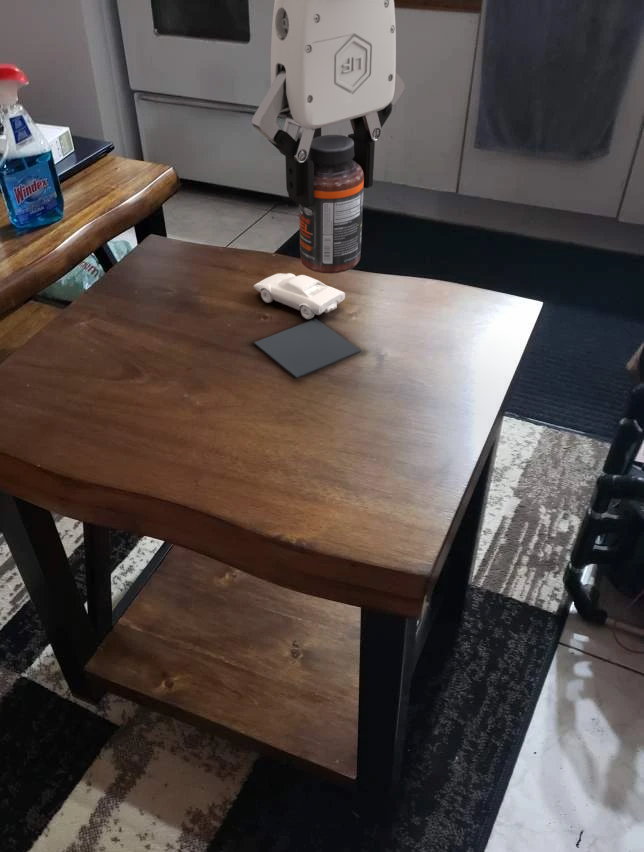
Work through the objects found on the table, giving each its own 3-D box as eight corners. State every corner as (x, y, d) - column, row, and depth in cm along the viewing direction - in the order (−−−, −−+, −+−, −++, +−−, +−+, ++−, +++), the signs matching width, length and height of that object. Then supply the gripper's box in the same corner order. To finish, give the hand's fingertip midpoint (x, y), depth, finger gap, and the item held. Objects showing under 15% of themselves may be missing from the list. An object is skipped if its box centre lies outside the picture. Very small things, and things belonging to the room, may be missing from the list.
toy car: (278, 282, 100) (277, 258, 98) (349, 309, 94) (349, 284, 91) (250, 297, 97) (248, 272, 95) (320, 326, 91) (321, 300, 89)
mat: (315, 320, 93) (315, 318, 92) (360, 351, 87) (360, 350, 87) (254, 344, 89) (254, 342, 89) (296, 378, 84) (296, 376, 84)
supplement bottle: (291, 255, 75) (288, 136, 67) (346, 244, 76) (349, 125, 69) (312, 281, 71) (311, 157, 63) (370, 269, 72) (376, 146, 64)
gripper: (263, -24, 51) (275, 232, 64) (452, -59, 57) (429, 181, 70) (209, -36, 56) (229, 205, 68) (388, -67, 62) (377, 159, 74)
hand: (330, 190), depth 69 cm, fingers closed on supplement bottle, 6 cm apart
